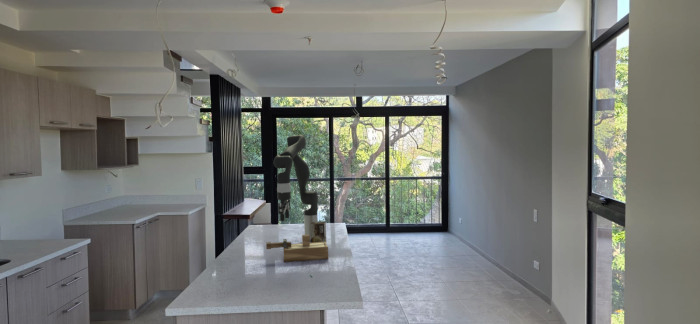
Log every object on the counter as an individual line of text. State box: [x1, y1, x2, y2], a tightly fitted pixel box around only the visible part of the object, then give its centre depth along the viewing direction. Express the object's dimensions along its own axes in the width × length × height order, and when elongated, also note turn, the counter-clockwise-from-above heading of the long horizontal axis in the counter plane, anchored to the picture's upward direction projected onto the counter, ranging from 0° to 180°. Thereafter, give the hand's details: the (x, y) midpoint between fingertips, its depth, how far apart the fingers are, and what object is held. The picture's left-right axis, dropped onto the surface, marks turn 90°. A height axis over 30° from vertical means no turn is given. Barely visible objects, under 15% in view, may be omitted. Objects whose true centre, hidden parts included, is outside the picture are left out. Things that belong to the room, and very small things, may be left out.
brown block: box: [265, 241, 292, 250], centre depth 222 cm, size 3×14×3 cm, turn 100°
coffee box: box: [310, 221, 327, 243], centre depth 245 cm, size 9×6×16 cm
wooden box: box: [282, 238, 329, 263], centre depth 225 cm, size 12×25×11 cm, turn 100°
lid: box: [288, 234, 325, 249], centre depth 225 cm, size 9×21×7 cm, turn 100°
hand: (284, 219), depth 220 cm, fingers open, 8 cm apart
